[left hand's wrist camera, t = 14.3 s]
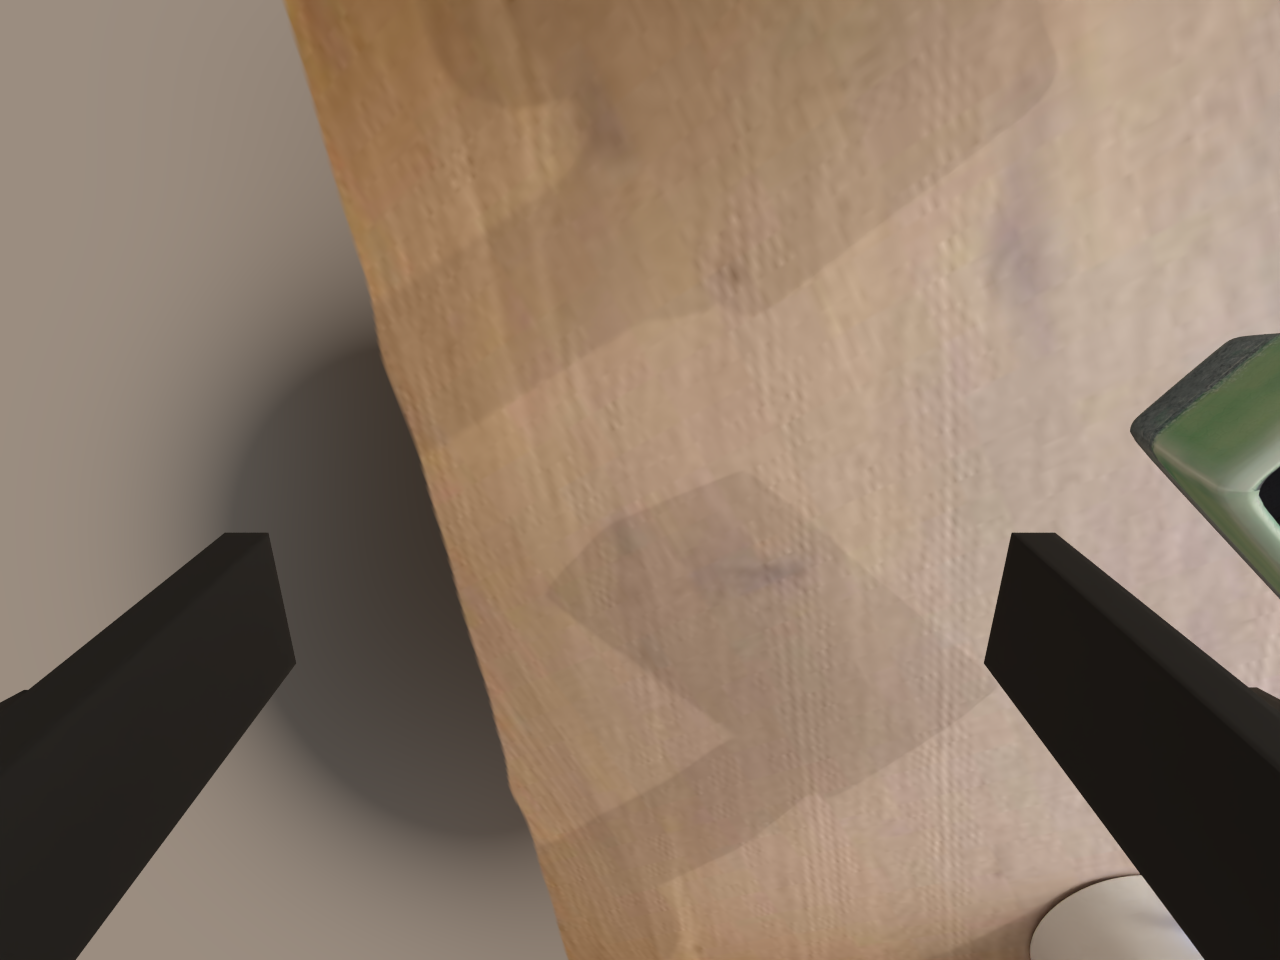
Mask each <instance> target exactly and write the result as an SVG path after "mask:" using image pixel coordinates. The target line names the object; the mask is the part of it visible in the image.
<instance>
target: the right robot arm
mask: <svg viewBox="0 0 1280 960" xmlns="http://www.w3.org/2000/svg"><path fill="white" fill-rule="evenodd" d="M1030 958H1031V960H1204V959H1203V957H1202V956H1201V955H1200V953H1199V952H1198V951H1197V949H1196V948H1195V946H1194V945H1193V944H1192V942H1191V941H1190V940H1189V938H1188V937H1187V936H1186V934H1185V933H1184V932H1183V930H1182V929H1181V928H1180V926H1179V925H1178V924H1177V922H1176V921H1175V920H1174V918H1173V917H1172V916H1171V914H1170V913H1169V912H1168V910H1167V909H1166V907H1165V906H1164V905H1163V903H1162V902H1161V901H1160V899H1159V898H1158V897H1157V895H1156V894H1155V893H1154V891H1153V890H1152V889H1151V887H1150V886H1149V885H1148V883H1147V882H1146V881H1145V879H1144V878H1143V877H1142V875H1134V876H1125V877H1119V878H1114V879H1110V880H1106V881H1102V882H1099V883H1096V884H1093V885H1091V886H1088V887H1086V888H1084V889H1082V890H1079V891H1078V892H1076V893H1074V894H1072V895H1070V896H1069V897H1067V898H1066V899H1064V900H1063V901H1061V902H1060V903H1059V904H1057V905H1056V906H1055V907H1054V908H1053V909H1052V910H1050V911H1049V912H1048V913H1047V915H1046V916H1045V917H1044V918H1043V919H1042V920H1041V922H1040V923H1039V925H1038V926H1037V928H1036V930H1035V932H1034V934H1033V937H1032V940H1031V944H1030Z"/></svg>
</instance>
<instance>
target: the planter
mask: <svg viewBox="0 0 1280 960" xmlns="http://www.w3.org/2000/svg"><path fill="white" fill-rule="evenodd" d="M1130 432H1131V434H1132V436H1133V437H1134V439H1135V441H1136V442H1137V443H1138V445H1139V446H1140V447H1141V448H1142V449H1143V450H1144V452H1145V453H1146V454H1147V455H1148V456H1149V458H1150V459H1151V460H1152V461H1153V462H1154V463H1155V464H1156V465H1157V466H1158V468H1159V469H1160V470H1161V471H1162V472H1163V473H1164V474H1165V475H1166V476H1167V477H1168V478H1169V480H1170V481H1171V482H1172V483H1173V484H1174V485H1175V486H1176V487H1177V488H1178V489H1179V491H1180V492H1181V493H1182V494H1183V495H1184V496H1185V497H1186V498H1187V499H1188V500H1189V501H1190V502H1191V504H1192V505H1193V506H1194V507H1195V508H1196V509H1197V510H1198V511H1199V512H1200V513H1201V514H1202V515H1203V517H1204V518H1205V519H1206V520H1207V521H1208V522H1209V523H1210V524H1211V525H1212V526H1213V527H1214V528H1215V529H1216V531H1217V532H1218V533H1219V534H1220V535H1221V536H1222V537H1223V538H1224V539H1225V540H1226V541H1227V542H1228V544H1229V545H1230V546H1231V547H1232V548H1233V549H1234V550H1235V551H1236V552H1237V553H1238V554H1239V555H1240V557H1241V558H1242V559H1243V560H1244V561H1245V562H1246V563H1247V564H1248V565H1249V566H1250V567H1251V568H1252V569H1253V571H1254V572H1255V573H1256V574H1257V575H1258V576H1259V577H1260V578H1261V579H1262V580H1263V581H1264V582H1265V583H1266V585H1267V586H1268V587H1269V588H1270V589H1271V590H1272V591H1273V592H1274V593H1275V594H1276V595H1277V596H1278V597H1279V599H1280V333H1277V334H1264V335H1252V336H1243V337H1238V338H1234V339H1232V340H1229V341H1228V342H1226V343H1225V344H1224V345H1222V346H1221V347H1220V348H1219V349H1217V350H1216V351H1215V352H1214V353H1212V354H1211V355H1210V356H1209V357H1208V358H1206V359H1205V360H1204V361H1203V362H1202V363H1200V364H1199V365H1198V366H1197V367H1196V368H1194V369H1193V370H1192V371H1191V372H1190V373H1188V374H1187V375H1186V376H1185V377H1184V378H1183V379H1181V380H1180V381H1179V382H1178V383H1177V384H1175V385H1174V386H1173V387H1172V388H1171V389H1170V390H1168V391H1167V392H1166V393H1165V394H1164V395H1162V396H1161V397H1160V398H1159V399H1158V400H1157V401H1155V402H1154V403H1153V404H1152V405H1151V406H1150V407H1148V408H1147V409H1146V410H1145V411H1144V412H1143V413H1142V414H1140V415H1139V416H1138V417H1137V418H1136V419H1135V420H1134V422H1133V423H1132V425H1131V428H1130Z"/></svg>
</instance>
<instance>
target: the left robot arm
mask: <svg viewBox="0 0 1280 960" xmlns="http://www.w3.org/2000/svg"><path fill="white" fill-rule="evenodd" d="M295 664H296V660H295V656H294V651H293V646H292V642H291V637H290V632H289V628H288V623H287V618H286V614H285V609H284V604H283V599H282V595H281V590H280V586H279V581H278V576H277V571H276V567H275V562H274V557H273V553H272V548H271V543H270V538H269V534H268V533H224V534H223V535H222V536H220V537H219V538H218V539H217V540H215V541H214V542H213V543H212V544H210V545H209V546H208V547H207V548H205V549H204V550H203V551H202V552H200V553H199V554H198V555H197V556H195V557H194V558H193V559H192V560H190V561H189V562H188V563H187V564H185V565H184V566H183V567H182V568H180V569H179V570H178V571H177V572H175V573H174V574H173V575H172V576H170V577H169V578H168V579H167V580H165V581H164V582H163V583H162V584H160V585H159V586H158V587H157V588H155V589H154V590H153V591H152V592H150V593H149V594H148V595H147V596H145V597H144V598H143V599H142V600H140V601H139V602H138V603H137V604H135V605H134V606H133V607H132V608H130V609H129V610H128V611H127V612H125V613H124V614H123V615H122V616H120V617H119V618H118V619H117V620H115V621H114V622H113V623H112V624H110V625H109V626H108V627H107V628H105V629H104V630H103V631H102V632H100V633H99V634H98V635H97V636H95V637H94V638H93V639H92V640H90V641H89V642H88V643H87V644H85V645H84V646H83V647H82V648H80V649H79V650H78V651H77V652H75V653H74V654H73V655H72V656H70V657H69V658H68V659H67V660H65V661H64V662H63V663H62V664H60V665H59V666H58V667H57V668H55V669H54V670H53V671H52V672H50V673H49V674H48V675H47V676H45V677H44V678H43V679H42V680H40V681H39V682H38V683H37V684H35V685H34V686H33V687H32V688H30V689H29V690H23V691H21V692H19V693H18V694H16V695H14V696H12V697H10V698H8V699H6V700H4V701H2V702H1V703H0V960H76V959H77V957H78V956H79V955H80V953H81V952H82V951H83V949H84V948H85V946H86V945H87V944H88V942H89V941H90V940H91V938H92V937H93V936H94V934H95V933H96V932H97V930H98V929H99V928H100V926H101V925H102V924H103V922H104V921H105V919H106V918H107V917H108V915H109V914H110V913H111V912H112V910H113V909H114V907H115V906H116V905H117V903H118V902H119V901H120V899H121V898H122V897H123V895H124V894H125V893H126V891H127V890H128V889H129V887H130V886H131V885H132V883H133V882H134V881H135V879H136V878H137V877H138V875H139V874H140V873H141V871H142V870H143V868H144V867H145V866H146V864H147V863H148V862H149V860H150V859H151V858H152V856H153V855H154V854H155V852H156V851H157V850H158V848H159V847H160V846H161V844H162V843H163V842H164V840H165V839H166V838H167V836H168V835H169V834H170V832H171V831H172V829H173V828H174V827H175V825H176V824H177V823H178V821H179V820H180V819H181V817H182V816H183V815H184V813H185V812H186V811H187V809H188V808H189V807H190V805H191V804H192V803H193V801H194V800H195V799H196V797H197V796H198V794H199V793H200V792H201V790H202V789H203V788H204V786H205V785H206V784H207V782H208V781H209V780H210V778H211V777H212V776H213V774H214V773H215V772H216V770H217V769H218V768H219V766H220V765H221V764H222V762H223V761H224V760H225V758H226V757H227V756H228V754H229V753H230V751H231V750H232V749H233V747H234V746H235V745H236V743H237V742H238V741H239V739H240V738H241V737H242V735H243V734H244V733H245V731H246V730H247V729H248V727H249V726H250V725H251V723H252V722H253V721H254V719H255V718H256V716H257V715H258V714H259V712H260V711H261V710H262V708H263V707H264V706H265V704H266V703H267V702H268V700H269V699H270V698H271V696H272V695H273V694H274V692H275V691H276V690H277V688H278V687H279V686H280V684H281V683H282V682H283V680H284V679H285V678H286V676H287V675H288V673H289V672H290V671H291V669H292V668H293V667H294V665H295ZM984 664H985V665H986V667H987V668H988V669H989V671H990V672H991V673H992V675H993V676H994V678H995V679H996V680H997V682H998V683H999V684H1000V686H1001V687H1002V688H1003V690H1004V691H1005V692H1006V694H1007V695H1008V696H1009V698H1010V699H1011V700H1012V702H1013V703H1014V704H1015V706H1016V707H1017V708H1018V710H1019V711H1020V712H1021V714H1022V715H1023V717H1024V718H1025V719H1026V721H1027V722H1028V723H1029V725H1030V726H1031V727H1032V729H1033V730H1034V731H1035V733H1036V734H1037V735H1038V737H1039V738H1040V739H1041V741H1042V742H1043V743H1044V745H1045V746H1046V747H1047V749H1048V750H1049V751H1050V753H1051V754H1052V756H1053V757H1054V758H1055V760H1056V761H1057V762H1058V764H1059V765H1060V766H1061V768H1062V769H1063V770H1064V772H1065V773H1066V774H1067V776H1068V777H1069V778H1070V780H1071V781H1072V782H1073V784H1074V785H1075V786H1076V788H1077V789H1078V790H1079V792H1080V793H1081V795H1082V796H1083V797H1084V799H1085V800H1086V801H1087V803H1088V804H1089V805H1090V807H1091V808H1092V809H1093V811H1094V812H1095V813H1096V815H1097V816H1098V817H1099V819H1100V820H1101V821H1102V823H1103V824H1104V825H1105V827H1106V828H1107V829H1108V831H1109V832H1110V834H1111V835H1112V836H1113V838H1114V839H1115V840H1116V842H1117V843H1118V844H1119V846H1120V847H1121V848H1122V850H1123V851H1124V852H1125V854H1126V855H1127V856H1128V858H1129V859H1130V860H1131V862H1132V863H1133V864H1134V866H1135V867H1136V868H1137V870H1138V871H1139V873H1140V874H1141V875H1142V877H1143V878H1144V879H1145V881H1146V882H1147V883H1148V885H1149V886H1150V887H1151V889H1152V890H1153V891H1154V893H1155V894H1156V895H1157V897H1158V898H1159V899H1160V901H1161V902H1162V903H1163V905H1164V906H1165V907H1166V909H1167V910H1168V912H1169V913H1170V914H1171V916H1172V917H1173V918H1174V920H1175V921H1176V922H1177V924H1178V925H1179V926H1180V928H1181V929H1182V930H1183V932H1184V933H1185V934H1186V936H1187V937H1188V938H1189V940H1190V941H1191V942H1192V944H1193V945H1194V946H1195V948H1196V949H1197V951H1198V952H1199V953H1200V955H1201V956H1202V957H1203V959H1204V960H1280V699H1278V698H1276V697H1274V696H1272V695H1270V694H1268V693H1266V692H1264V691H1262V690H1261V689H1259V688H1249V687H1247V686H1246V685H1245V684H1243V683H1242V682H1241V681H1240V680H1238V679H1237V678H1236V677H1235V676H1233V675H1232V674H1231V673H1230V672H1228V671H1227V670H1226V669H1225V668H1223V667H1222V666H1221V665H1220V664H1218V663H1217V662H1216V661H1215V660H1213V659H1212V658H1211V657H1210V656H1208V655H1207V654H1206V653H1205V652H1203V651H1202V650H1201V649H1200V648H1198V647H1197V646H1196V645H1195V644H1193V643H1192V642H1191V641H1190V640H1188V639H1187V638H1186V637H1185V636H1183V635H1182V634H1181V633H1180V632H1178V631H1177V630H1176V629H1175V628H1173V627H1172V626H1171V625H1170V624H1168V623H1167V622H1166V621H1165V620H1163V619H1162V618H1161V617H1160V616H1158V615H1157V614H1156V613H1155V612H1153V611H1152V610H1151V609H1150V608H1148V607H1147V606H1146V605H1145V604H1143V603H1142V602H1141V601H1140V600H1138V599H1137V598H1136V597H1135V596H1133V595H1132V594H1131V593H1130V592H1128V591H1127V590H1126V589H1125V588H1123V587H1122V586H1121V585H1120V584H1118V583H1117V582H1116V581H1115V580H1113V579H1112V578H1111V577H1110V576H1108V575H1107V574H1106V573H1105V572H1103V571H1102V570H1101V569H1100V568H1098V567H1097V566H1096V565H1095V564H1093V563H1092V562H1091V561H1090V560H1088V559H1087V558H1086V557H1085V556H1083V555H1082V554H1081V553H1080V552H1078V551H1077V550H1076V549H1075V548H1073V547H1072V546H1071V545H1070V544H1068V543H1067V542H1066V541H1065V540H1063V539H1062V538H1061V537H1060V536H1058V535H1057V534H1056V533H1012V534H1011V538H1010V543H1009V548H1008V553H1007V557H1006V562H1005V567H1004V571H1003V576H1002V581H1001V585H1000V590H999V595H998V599H997V604H996V609H995V613H994V618H993V623H992V628H991V632H990V637H989V642H988V646H987V651H986V656H985V660H984Z"/></svg>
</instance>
